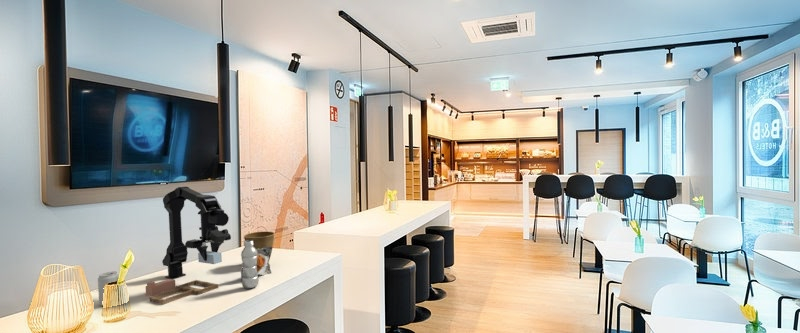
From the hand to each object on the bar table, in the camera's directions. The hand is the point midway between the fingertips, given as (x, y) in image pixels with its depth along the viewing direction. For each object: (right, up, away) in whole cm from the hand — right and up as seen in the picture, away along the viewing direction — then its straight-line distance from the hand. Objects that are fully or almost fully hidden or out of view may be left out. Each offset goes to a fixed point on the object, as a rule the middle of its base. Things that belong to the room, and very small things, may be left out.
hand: (209, 259), depth 166 cm
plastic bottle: (+21, -11, -6) cm, 24 cm away
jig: (-6, -11, -11) cm, 17 cm away
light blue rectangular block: (0, -1, 0) cm, 1 cm away
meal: (+19, -10, +7) cm, 23 cm away
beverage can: (-29, -13, -20) cm, 37 cm away
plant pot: (+12, -10, +29) cm, 33 cm away
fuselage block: (-17, -12, -8) cm, 22 cm away
